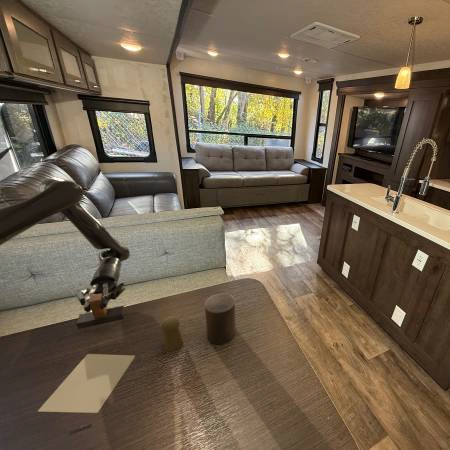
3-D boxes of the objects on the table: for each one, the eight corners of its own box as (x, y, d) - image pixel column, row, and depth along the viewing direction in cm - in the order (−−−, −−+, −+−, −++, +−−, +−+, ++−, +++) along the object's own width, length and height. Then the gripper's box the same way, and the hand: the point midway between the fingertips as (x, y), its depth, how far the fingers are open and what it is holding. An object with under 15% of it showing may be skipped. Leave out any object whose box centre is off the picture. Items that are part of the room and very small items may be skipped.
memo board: (38, 414, 60) (36, 411, 59) (88, 356, 75) (87, 353, 74) (98, 415, 61) (97, 412, 60) (136, 358, 75) (135, 355, 75)
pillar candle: (220, 349, 81) (218, 314, 75) (200, 335, 85) (197, 301, 79) (241, 330, 89) (241, 297, 83) (222, 318, 93) (221, 286, 87)
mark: (71, 433, 57) (70, 437, 56) (70, 430, 57) (68, 434, 56) (93, 426, 59) (92, 429, 58) (91, 423, 58) (91, 426, 58)
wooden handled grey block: (78, 329, 79) (68, 306, 74) (81, 319, 82) (72, 297, 77) (123, 319, 84) (117, 297, 79) (125, 310, 87) (119, 289, 82)
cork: (161, 355, 77) (156, 329, 73) (165, 339, 82) (161, 314, 78) (182, 352, 79) (178, 326, 75) (184, 337, 84) (181, 312, 80)
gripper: (79, 272, 86) (61, 304, 72) (127, 265, 92) (119, 294, 78) (84, 289, 89) (68, 323, 75) (130, 281, 95) (124, 312, 81)
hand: (94, 308), depth 77 cm, fingers closed on wooden handled grey block, 3 cm apart
